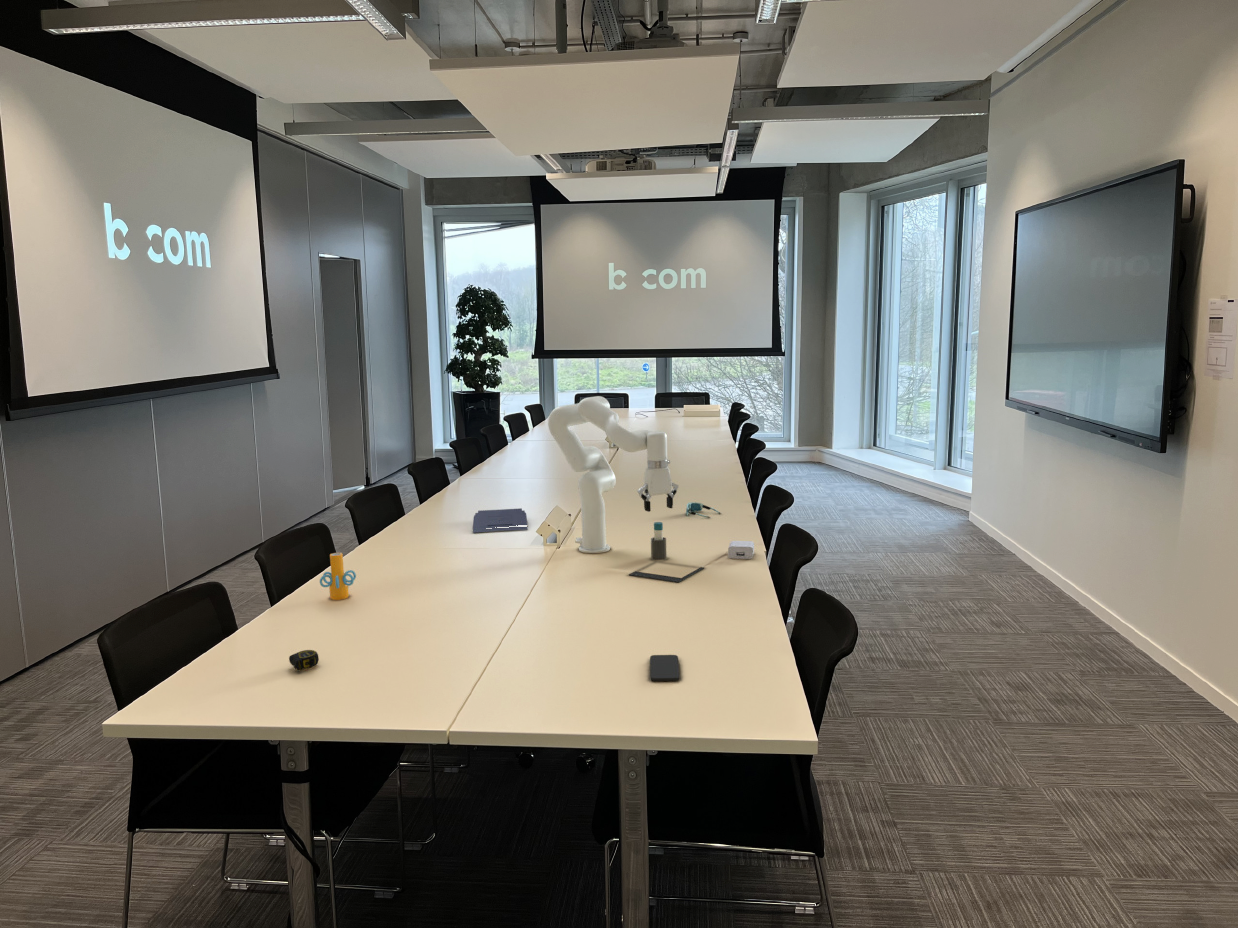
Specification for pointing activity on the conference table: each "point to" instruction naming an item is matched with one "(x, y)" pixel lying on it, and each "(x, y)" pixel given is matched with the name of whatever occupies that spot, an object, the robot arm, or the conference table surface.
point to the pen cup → (658, 549)
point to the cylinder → (338, 578)
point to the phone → (664, 668)
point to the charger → (741, 550)
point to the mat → (664, 578)
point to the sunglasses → (697, 508)
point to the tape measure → (304, 659)
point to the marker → (658, 531)
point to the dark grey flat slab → (499, 520)
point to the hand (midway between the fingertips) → (658, 509)
